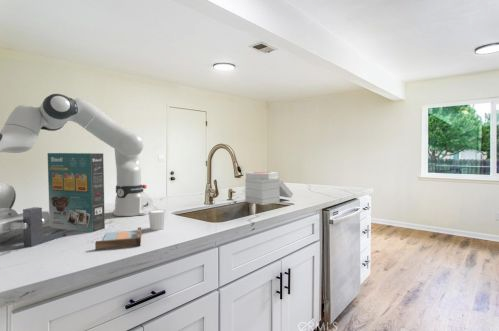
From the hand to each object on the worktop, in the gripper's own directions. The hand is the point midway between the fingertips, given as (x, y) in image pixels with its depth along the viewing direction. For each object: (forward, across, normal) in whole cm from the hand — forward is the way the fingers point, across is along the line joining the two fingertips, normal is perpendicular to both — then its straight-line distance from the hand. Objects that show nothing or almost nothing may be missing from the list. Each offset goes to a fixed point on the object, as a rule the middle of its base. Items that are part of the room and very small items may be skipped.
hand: (35, 223), depth 97 cm
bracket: (-1, -5, -7) cm, 8 cm away
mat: (+24, -12, -7) cm, 27 cm away
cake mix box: (-4, -21, -7) cm, 23 cm away
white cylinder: (+28, -29, -7) cm, 40 cm away
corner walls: (+25, -10, -7) cm, 28 cm away
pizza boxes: (+59, -106, -7) cm, 121 cm away
